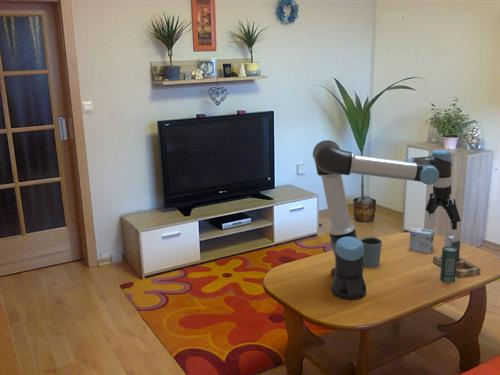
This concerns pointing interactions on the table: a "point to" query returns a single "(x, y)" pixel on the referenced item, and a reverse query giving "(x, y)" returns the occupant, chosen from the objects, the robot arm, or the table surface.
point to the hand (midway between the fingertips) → (442, 231)
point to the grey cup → (371, 251)
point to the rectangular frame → (470, 268)
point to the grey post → (452, 242)
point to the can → (448, 264)
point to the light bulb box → (421, 240)
